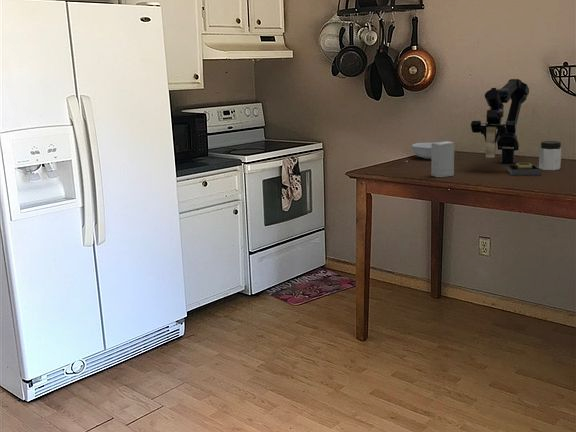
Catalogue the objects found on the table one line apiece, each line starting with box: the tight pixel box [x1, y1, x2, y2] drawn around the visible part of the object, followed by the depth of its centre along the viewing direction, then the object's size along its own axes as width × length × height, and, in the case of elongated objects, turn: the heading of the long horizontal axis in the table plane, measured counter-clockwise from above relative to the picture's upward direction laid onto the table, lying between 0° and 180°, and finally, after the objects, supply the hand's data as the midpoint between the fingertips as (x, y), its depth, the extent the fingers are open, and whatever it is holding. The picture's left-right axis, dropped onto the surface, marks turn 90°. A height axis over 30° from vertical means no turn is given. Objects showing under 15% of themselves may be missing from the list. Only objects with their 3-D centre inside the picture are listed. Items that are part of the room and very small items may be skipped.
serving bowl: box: [411, 142, 433, 160], centre depth 327 cm, size 21×21×7 cm
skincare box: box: [430, 140, 455, 178], centre depth 278 cm, size 8×6×15 cm
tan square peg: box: [485, 127, 497, 158], centre depth 280 cm, size 4×4×13 cm
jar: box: [538, 140, 562, 171], centre depth 285 cm, size 9×8×12 cm
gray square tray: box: [506, 162, 542, 177], centre depth 279 cm, size 12×12×4 cm
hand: (490, 142), depth 279 cm, fingers closed on tan square peg, 3 cm apart
